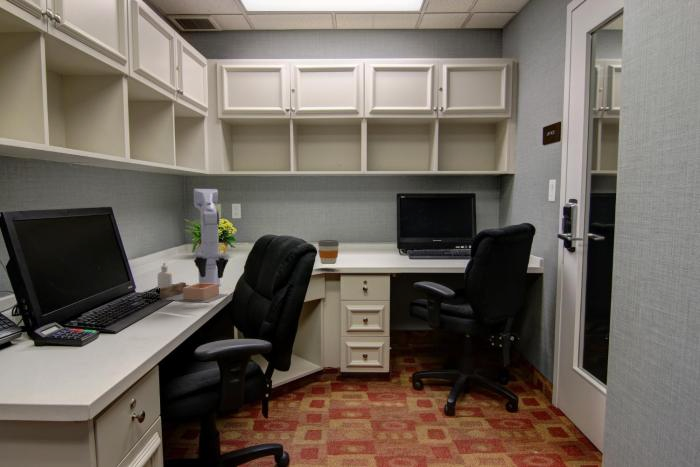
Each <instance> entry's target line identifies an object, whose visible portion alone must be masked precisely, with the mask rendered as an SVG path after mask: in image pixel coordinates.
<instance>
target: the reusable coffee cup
mask: <svg viewBox="0 0 700 467" xmlns="http://www.w3.org/2000/svg"><path fill="white" fill-rule="evenodd" d="M317 244H318V256H319V258H320V260H319V261H320V264H321V263H322V264H335V263H336V264H337V259H338V255H339V240H336V239H325V240H324V239H322V240H318V243H317Z"/></svg>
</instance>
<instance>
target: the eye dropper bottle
mask: <svg viewBox="0 0 700 467" xmlns="http://www.w3.org/2000/svg"><path fill="white" fill-rule="evenodd" d="M160 270H161V271H160V272H158V273H157V289H158V290H159V288H164V287H167V286H171V285H173V276H172V275H173V274H172V273H171V272H170V271H169V269H168V266H167V265H166V262H163V264H162V265H161V268H160Z"/></svg>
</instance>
